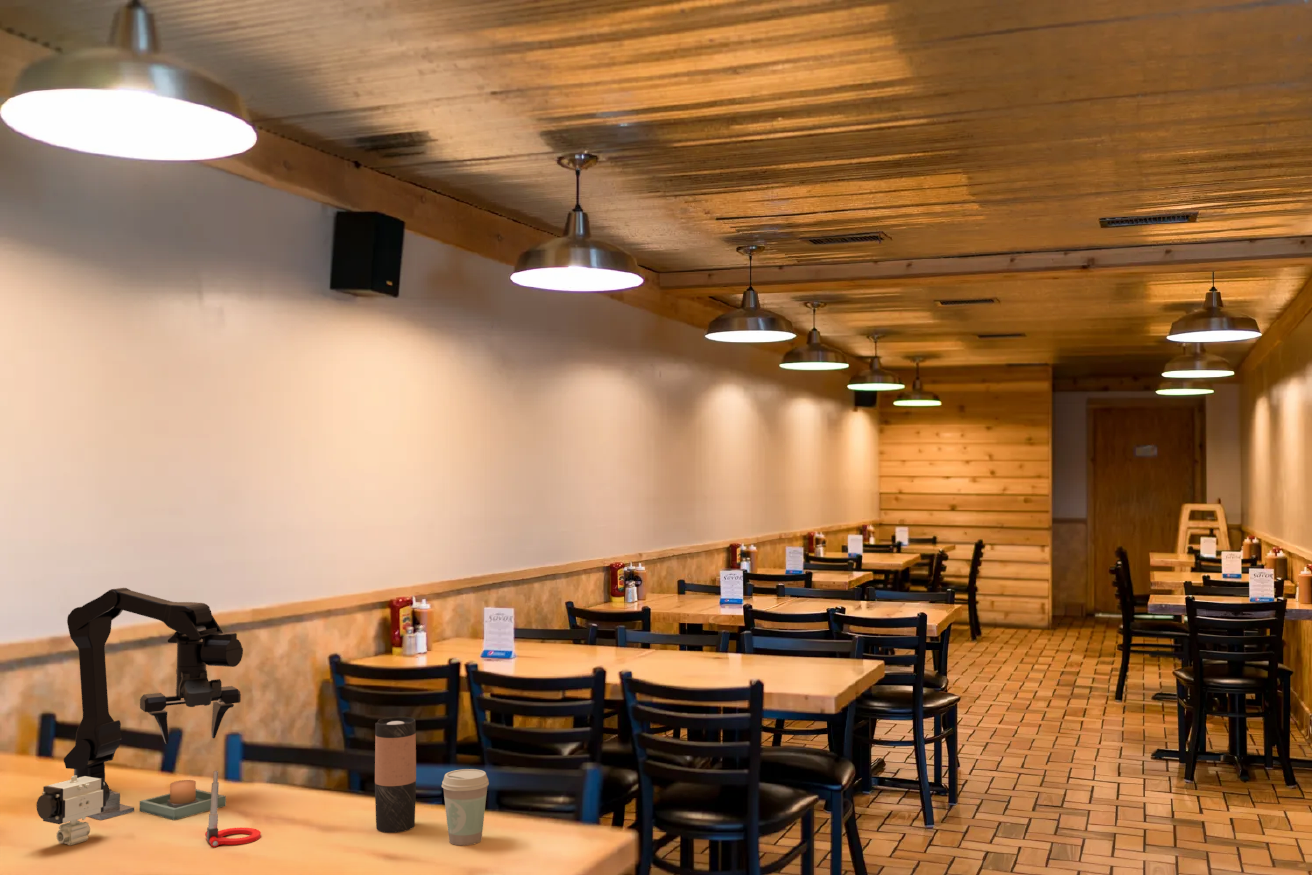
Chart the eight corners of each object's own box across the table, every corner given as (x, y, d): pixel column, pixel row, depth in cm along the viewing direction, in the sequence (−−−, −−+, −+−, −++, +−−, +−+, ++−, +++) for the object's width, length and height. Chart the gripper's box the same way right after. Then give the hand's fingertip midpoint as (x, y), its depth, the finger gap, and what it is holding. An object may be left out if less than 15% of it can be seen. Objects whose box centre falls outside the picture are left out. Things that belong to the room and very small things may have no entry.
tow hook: (255, 831, 217) (203, 837, 212) (259, 762, 218) (207, 766, 213) (264, 843, 210) (211, 849, 205) (268, 772, 210) (215, 776, 206)
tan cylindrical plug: (173, 810, 228) (173, 787, 228) (167, 804, 232) (167, 782, 232) (198, 805, 231) (198, 783, 231) (191, 800, 234) (192, 778, 235)
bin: (139, 811, 230) (139, 800, 230) (191, 797, 239) (191, 787, 239) (174, 819, 223) (174, 809, 223) (225, 805, 233) (225, 795, 233)
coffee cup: (436, 837, 211) (436, 771, 211) (482, 831, 214) (482, 766, 215) (447, 850, 203) (447, 782, 204) (494, 844, 206) (494, 776, 207)
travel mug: (424, 826, 217) (424, 720, 218) (389, 835, 212) (389, 726, 213) (400, 818, 223) (400, 714, 223) (366, 827, 217) (366, 721, 218)
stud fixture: (80, 814, 227) (81, 795, 228) (114, 806, 233) (114, 787, 233) (100, 820, 223) (100, 800, 224) (134, 811, 229) (134, 792, 229)
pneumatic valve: (35, 849, 206) (35, 781, 206) (93, 831, 216) (94, 767, 216) (54, 853, 203) (55, 785, 204) (113, 835, 213) (113, 770, 214)
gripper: (151, 674, 226) (149, 754, 225) (248, 665, 236) (247, 742, 236) (140, 666, 235) (138, 743, 234) (234, 659, 246) (232, 732, 245)
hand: (190, 740), depth 237 cm, fingers open, 9 cm apart
